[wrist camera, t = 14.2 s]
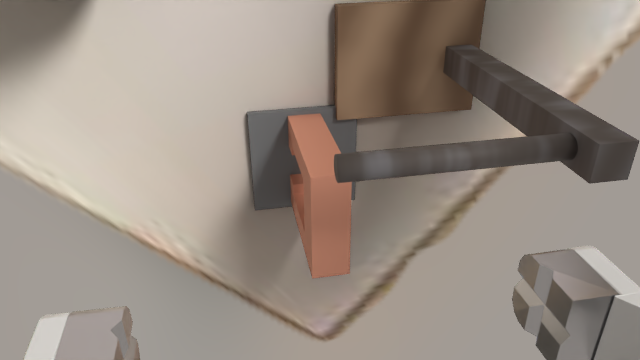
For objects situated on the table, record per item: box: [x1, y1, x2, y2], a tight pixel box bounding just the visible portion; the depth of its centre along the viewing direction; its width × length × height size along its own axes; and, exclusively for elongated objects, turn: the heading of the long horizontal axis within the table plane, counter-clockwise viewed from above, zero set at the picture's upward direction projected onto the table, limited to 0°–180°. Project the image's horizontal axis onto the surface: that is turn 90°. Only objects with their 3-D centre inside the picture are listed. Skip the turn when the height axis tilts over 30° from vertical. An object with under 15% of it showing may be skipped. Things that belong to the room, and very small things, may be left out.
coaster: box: [247, 105, 357, 210], centre depth 51 cm, size 10×10×1 cm
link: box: [288, 113, 352, 278], centre depth 45 cm, size 3×9×12 cm, turn 1°
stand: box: [334, 0, 639, 183], centre depth 38 cm, size 17×10×22 cm, turn 91°
